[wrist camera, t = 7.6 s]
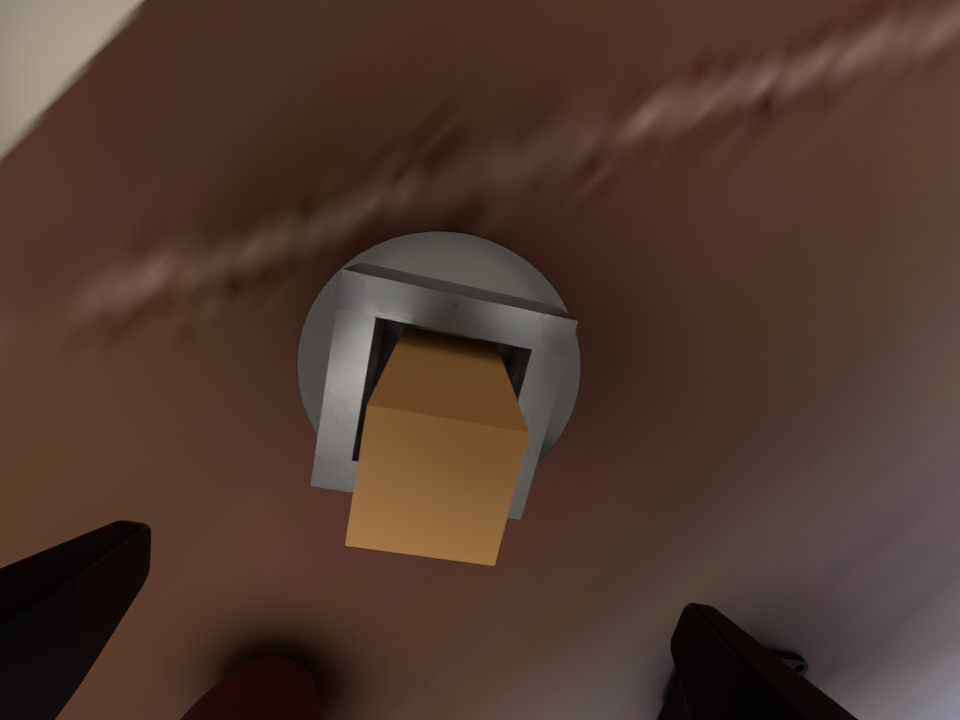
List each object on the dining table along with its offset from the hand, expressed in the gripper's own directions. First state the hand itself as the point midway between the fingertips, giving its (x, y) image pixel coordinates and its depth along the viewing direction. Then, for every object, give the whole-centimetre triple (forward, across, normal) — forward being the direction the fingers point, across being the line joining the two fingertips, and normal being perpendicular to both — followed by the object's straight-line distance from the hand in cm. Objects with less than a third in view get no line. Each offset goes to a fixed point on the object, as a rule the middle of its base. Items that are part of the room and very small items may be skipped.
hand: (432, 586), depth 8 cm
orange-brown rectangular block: (+11, 0, 0) cm, 11 cm away
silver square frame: (+12, 0, 0) cm, 12 cm away
